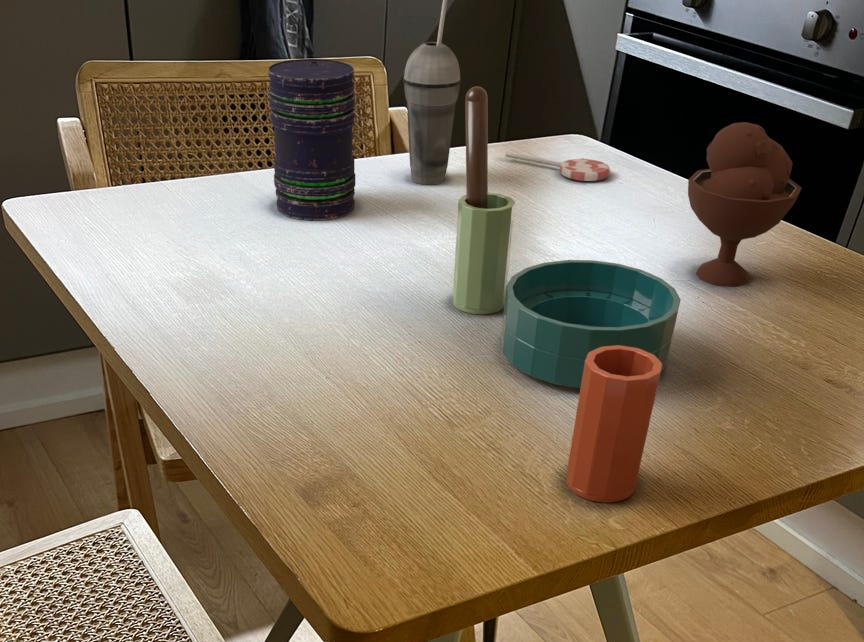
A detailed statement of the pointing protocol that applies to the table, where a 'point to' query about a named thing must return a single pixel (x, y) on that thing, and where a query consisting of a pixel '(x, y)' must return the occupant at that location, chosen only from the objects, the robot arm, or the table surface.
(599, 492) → the utensil cup
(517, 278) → the mixing bowl
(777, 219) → the ice cream bowl
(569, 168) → the lollipop
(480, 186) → the stirring stick
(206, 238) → the table surface
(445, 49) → the beverage cup
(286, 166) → the storage jar
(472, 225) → the rinse cup
